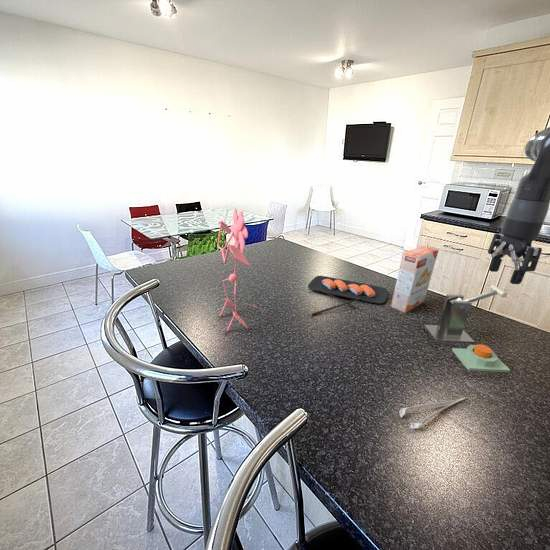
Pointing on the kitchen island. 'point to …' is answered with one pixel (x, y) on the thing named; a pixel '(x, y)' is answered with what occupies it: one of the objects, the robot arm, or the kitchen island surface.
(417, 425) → the tweezers
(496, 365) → the button block
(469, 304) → the bracket
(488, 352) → the button
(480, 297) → the lever
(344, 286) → the sushi plate
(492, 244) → the robot arm
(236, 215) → the figurine
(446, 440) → the kitchen island surface
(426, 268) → the cracker box
